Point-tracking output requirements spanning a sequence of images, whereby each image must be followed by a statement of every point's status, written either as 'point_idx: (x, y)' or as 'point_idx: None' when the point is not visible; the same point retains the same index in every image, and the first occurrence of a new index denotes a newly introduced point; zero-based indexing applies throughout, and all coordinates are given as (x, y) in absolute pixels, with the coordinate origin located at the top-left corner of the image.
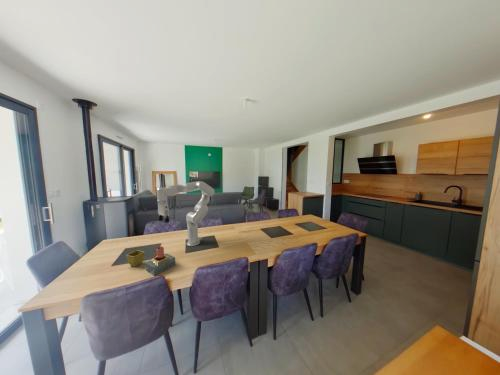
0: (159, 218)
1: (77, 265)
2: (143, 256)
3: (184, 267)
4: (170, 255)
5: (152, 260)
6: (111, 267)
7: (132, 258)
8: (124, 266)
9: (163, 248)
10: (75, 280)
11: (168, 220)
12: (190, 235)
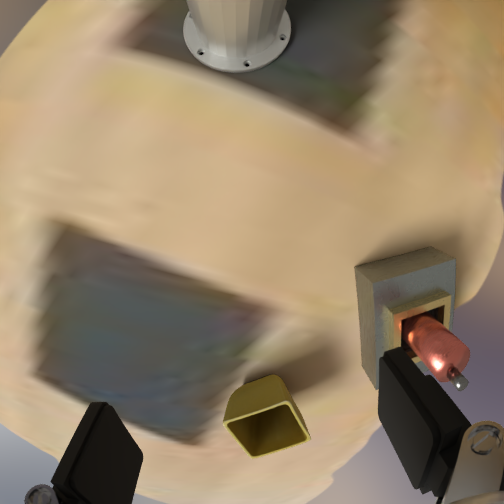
0: (132, 498)
1: None
2: (286, 388)
3: (474, 224)
4: (419, 272)
5: None
6: (212, 448)
7: (300, 435)
8: None
9: (463, 343)
10: (230, 496)
11: (436, 384)
12: (269, 18)
